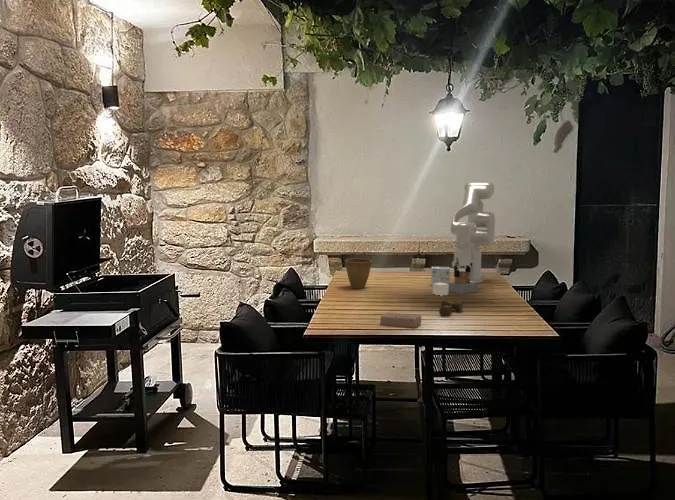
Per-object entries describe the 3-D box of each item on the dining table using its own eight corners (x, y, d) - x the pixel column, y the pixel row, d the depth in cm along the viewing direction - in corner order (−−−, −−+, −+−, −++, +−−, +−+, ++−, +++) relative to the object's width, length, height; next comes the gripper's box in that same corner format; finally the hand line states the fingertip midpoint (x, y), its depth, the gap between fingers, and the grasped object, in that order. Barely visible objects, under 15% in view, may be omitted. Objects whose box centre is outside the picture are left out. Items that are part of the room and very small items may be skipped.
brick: (379, 325, 281) (379, 314, 281) (386, 321, 289) (386, 310, 288) (415, 329, 275) (416, 318, 274) (421, 325, 282) (421, 314, 282)
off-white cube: (439, 293, 353) (440, 282, 352) (448, 294, 349) (448, 283, 348) (432, 294, 349) (432, 283, 349) (441, 296, 345) (441, 285, 344)
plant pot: (341, 289, 364) (341, 261, 362) (350, 284, 377) (350, 257, 375) (366, 291, 358) (366, 262, 356) (374, 286, 372) (375, 259, 370)
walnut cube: (461, 281, 363) (461, 271, 362) (470, 283, 358) (470, 272, 358) (454, 282, 359) (454, 272, 358) (463, 284, 354) (463, 273, 354)
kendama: (433, 317, 299) (445, 307, 317) (454, 319, 295) (465, 309, 313) (434, 304, 298) (446, 295, 316) (454, 306, 294) (465, 297, 312)
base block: (462, 289, 368) (462, 280, 367) (477, 292, 358) (477, 283, 357) (446, 291, 361) (446, 282, 360) (461, 294, 351) (461, 285, 350)
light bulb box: (449, 284, 379) (449, 266, 378) (449, 286, 372) (450, 268, 371) (430, 284, 380) (431, 266, 379) (431, 286, 373) (431, 268, 372)
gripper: (467, 243, 365) (466, 273, 367) (447, 246, 353) (446, 277, 356) (478, 245, 359) (477, 275, 361) (458, 247, 348) (457, 278, 350)
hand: (462, 276), depth 358 cm, fingers open, 9 cm apart
